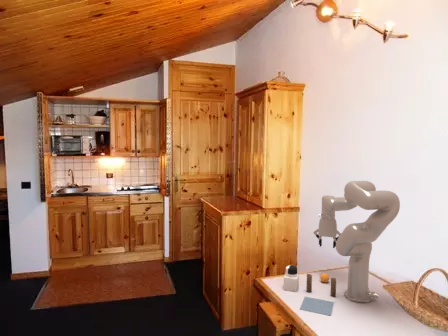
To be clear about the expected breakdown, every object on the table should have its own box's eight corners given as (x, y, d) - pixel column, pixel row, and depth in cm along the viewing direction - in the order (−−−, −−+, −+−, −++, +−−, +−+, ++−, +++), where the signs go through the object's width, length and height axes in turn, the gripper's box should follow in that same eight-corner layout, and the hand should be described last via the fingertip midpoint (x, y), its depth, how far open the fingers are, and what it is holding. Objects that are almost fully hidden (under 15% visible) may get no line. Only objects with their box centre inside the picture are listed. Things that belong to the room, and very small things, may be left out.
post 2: (336, 295, 165) (336, 278, 165) (335, 297, 163) (336, 280, 162) (330, 294, 166) (331, 277, 166) (330, 296, 164) (330, 279, 163)
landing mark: (333, 302, 158) (333, 301, 158) (330, 315, 145) (330, 315, 145) (304, 296, 163) (304, 296, 163) (299, 309, 151) (299, 309, 151)
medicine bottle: (298, 286, 175) (299, 265, 175) (297, 292, 169) (297, 269, 168) (285, 284, 178) (285, 263, 177) (283, 290, 171) (283, 268, 170)
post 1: (311, 291, 170) (312, 274, 170) (311, 293, 168) (311, 276, 167) (306, 290, 171) (307, 273, 171) (306, 292, 169) (306, 275, 168)
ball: (329, 281, 183) (329, 272, 183) (328, 284, 178) (328, 275, 178) (320, 279, 185) (320, 271, 185) (319, 283, 180) (319, 274, 180)
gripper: (311, 216, 188) (311, 246, 189) (343, 219, 181) (342, 250, 182) (313, 214, 195) (313, 243, 196) (344, 217, 188) (343, 246, 189)
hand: (327, 246), depth 189 cm, fingers open, 6 cm apart
